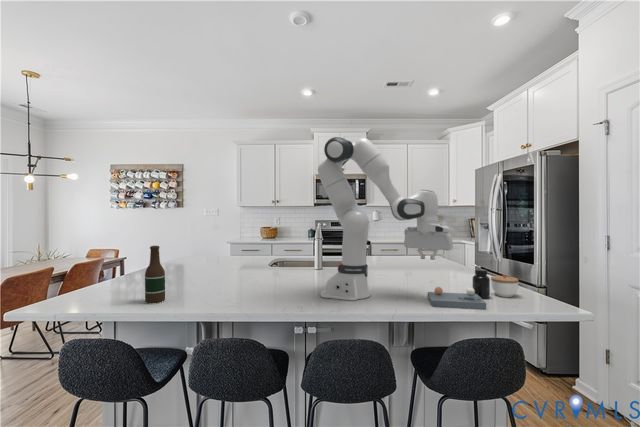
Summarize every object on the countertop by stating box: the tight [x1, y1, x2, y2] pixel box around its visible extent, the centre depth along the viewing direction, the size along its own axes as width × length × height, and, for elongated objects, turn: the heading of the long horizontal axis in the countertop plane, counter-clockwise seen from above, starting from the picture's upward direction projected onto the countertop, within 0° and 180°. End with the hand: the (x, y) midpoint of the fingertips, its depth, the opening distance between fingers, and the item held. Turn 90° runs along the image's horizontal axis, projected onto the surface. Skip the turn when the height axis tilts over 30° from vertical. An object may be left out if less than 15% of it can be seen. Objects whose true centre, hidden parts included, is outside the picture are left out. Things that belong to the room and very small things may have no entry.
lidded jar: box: [490, 273, 520, 298], centre depth 145 cm, size 11×11×9 cm
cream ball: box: [466, 287, 475, 295], centre depth 136 cm, size 3×3×3 cm
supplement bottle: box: [472, 268, 491, 300], centre depth 142 cm, size 7×7×12 cm
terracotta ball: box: [434, 286, 444, 295], centre depth 137 cm, size 3×3×3 cm
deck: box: [427, 291, 487, 310], centre depth 133 cm, size 20×14×2 cm
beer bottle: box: [144, 245, 166, 304], centre depth 139 cm, size 8×8×24 cm
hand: (427, 259), depth 140 cm, fingers open, 3 cm apart
